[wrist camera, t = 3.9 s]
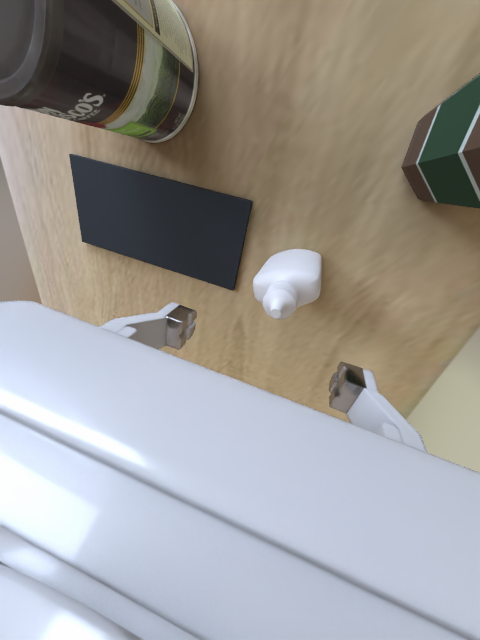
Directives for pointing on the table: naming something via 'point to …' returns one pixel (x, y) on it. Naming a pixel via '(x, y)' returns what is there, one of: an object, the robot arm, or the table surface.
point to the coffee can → (100, 63)
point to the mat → (161, 220)
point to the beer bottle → (448, 150)
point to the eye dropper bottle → (288, 282)
